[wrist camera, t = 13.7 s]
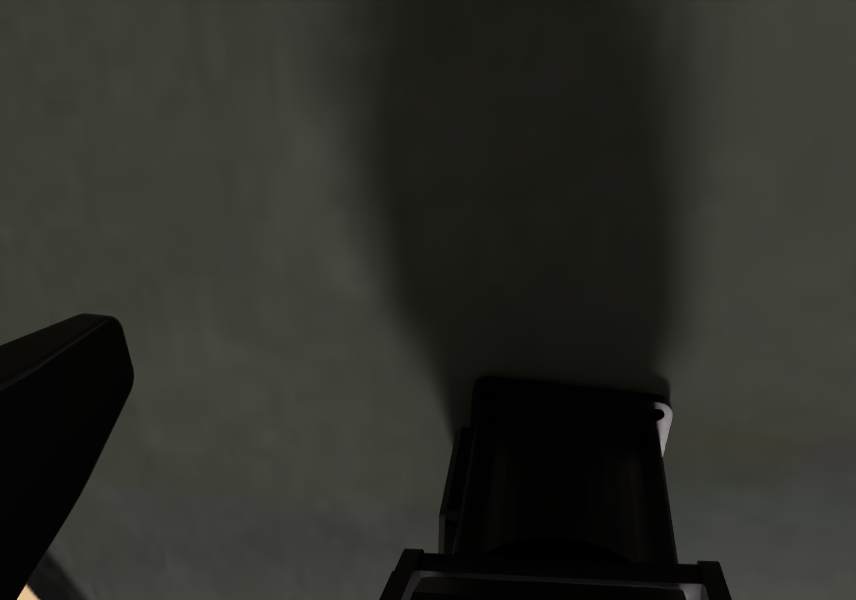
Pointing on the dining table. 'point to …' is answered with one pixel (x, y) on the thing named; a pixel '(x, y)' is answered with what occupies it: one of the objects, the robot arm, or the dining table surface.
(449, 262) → the dining table surface
